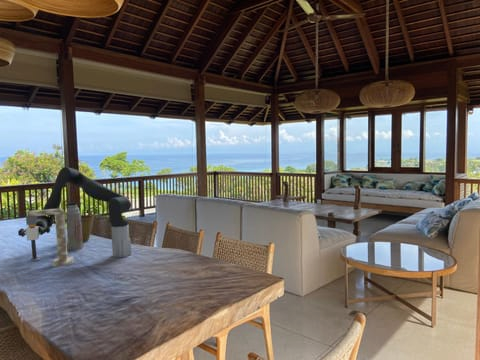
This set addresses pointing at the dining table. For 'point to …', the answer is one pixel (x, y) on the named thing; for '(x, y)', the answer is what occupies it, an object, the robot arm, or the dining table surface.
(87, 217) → the plant pot
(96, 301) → the dining table surface
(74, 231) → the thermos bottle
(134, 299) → the dining table surface
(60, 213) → the stand
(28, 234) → the sleeve
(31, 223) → the dark grey piece
